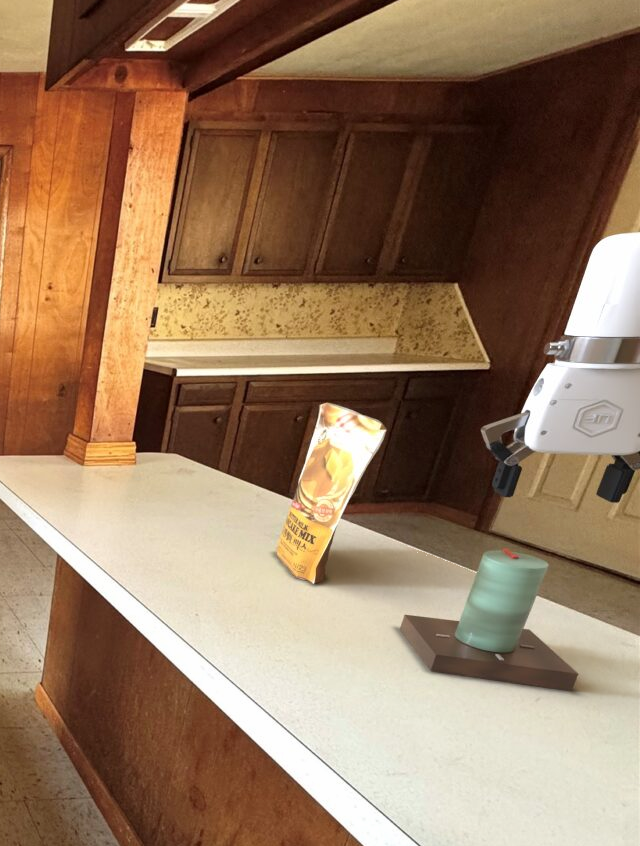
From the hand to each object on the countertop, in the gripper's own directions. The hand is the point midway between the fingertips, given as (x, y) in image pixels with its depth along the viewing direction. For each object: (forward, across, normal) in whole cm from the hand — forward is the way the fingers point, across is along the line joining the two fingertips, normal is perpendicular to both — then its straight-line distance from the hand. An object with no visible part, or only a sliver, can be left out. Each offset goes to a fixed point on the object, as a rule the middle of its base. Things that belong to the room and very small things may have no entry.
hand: (553, 496), depth 81 cm
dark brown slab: (+23, -2, -1) cm, 23 cm away
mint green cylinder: (+20, -2, -1) cm, 20 cm away
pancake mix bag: (+23, -17, +27) cm, 39 cm away
